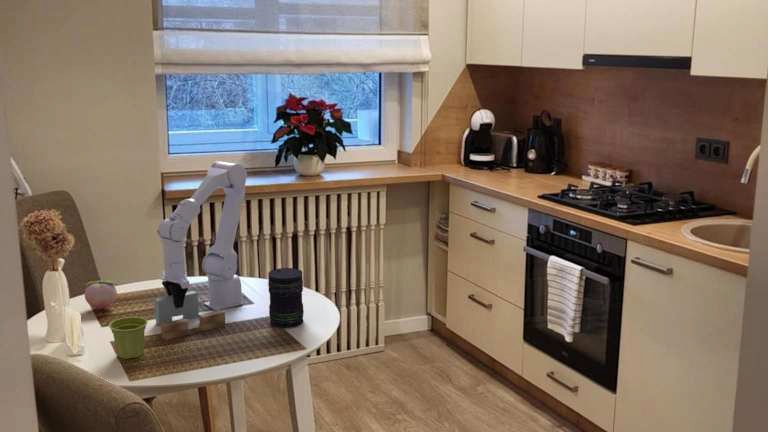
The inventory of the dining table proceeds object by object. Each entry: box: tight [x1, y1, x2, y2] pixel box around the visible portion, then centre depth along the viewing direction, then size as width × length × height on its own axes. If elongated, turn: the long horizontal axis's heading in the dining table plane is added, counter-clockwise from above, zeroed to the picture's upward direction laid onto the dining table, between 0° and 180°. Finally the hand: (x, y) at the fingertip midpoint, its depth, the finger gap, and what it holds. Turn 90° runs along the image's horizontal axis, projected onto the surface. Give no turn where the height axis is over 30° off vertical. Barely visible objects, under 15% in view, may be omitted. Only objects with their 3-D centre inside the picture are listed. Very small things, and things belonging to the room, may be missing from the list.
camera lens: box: [267, 267, 305, 329], centre depth 221 cm, size 10×10×15 cm
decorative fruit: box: [83, 277, 118, 310], centre depth 232 cm, size 9×8×10 cm
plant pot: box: [108, 316, 148, 360], centre depth 198 cm, size 9×9×9 cm
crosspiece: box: [154, 290, 200, 327], centre depth 223 cm, size 12×3×8 cm, turn 129°
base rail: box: [160, 309, 226, 341], centre depth 215 cm, size 18×3×4 cm, turn 129°
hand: (176, 305), depth 223 cm, fingers closed on crosspiece, 3 cm apart
